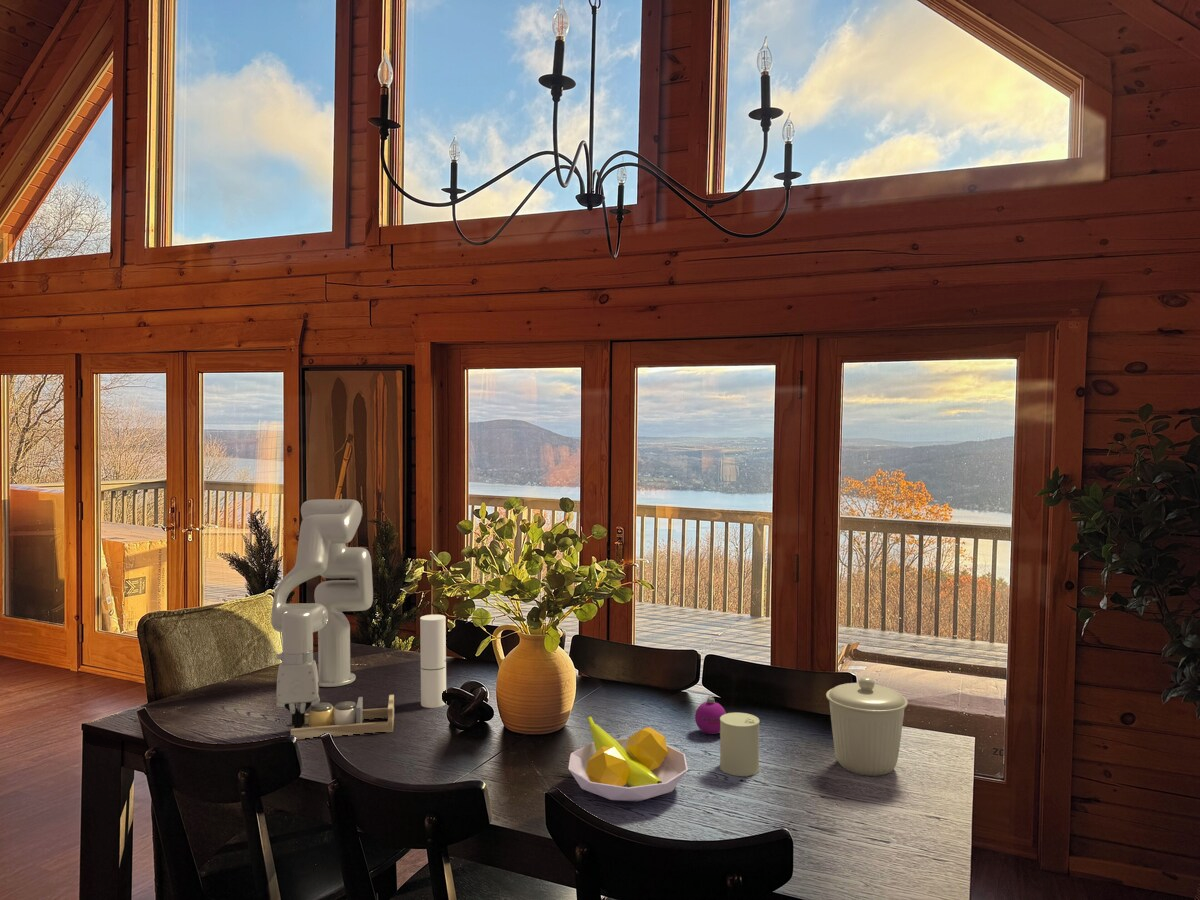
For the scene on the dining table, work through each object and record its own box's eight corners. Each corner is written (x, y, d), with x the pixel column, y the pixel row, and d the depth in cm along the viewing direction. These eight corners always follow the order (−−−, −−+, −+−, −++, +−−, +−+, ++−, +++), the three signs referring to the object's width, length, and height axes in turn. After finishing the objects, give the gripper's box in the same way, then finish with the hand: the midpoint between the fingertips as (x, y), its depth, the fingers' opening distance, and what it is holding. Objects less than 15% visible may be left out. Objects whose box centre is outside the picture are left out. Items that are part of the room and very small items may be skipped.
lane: (297, 723, 220) (297, 701, 220) (394, 716, 226) (393, 694, 225) (290, 740, 208) (290, 716, 208) (392, 731, 214) (392, 709, 214)
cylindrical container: (449, 699, 239) (448, 614, 238) (442, 708, 232) (441, 620, 231) (425, 699, 240) (424, 614, 239) (417, 707, 233) (416, 620, 232)
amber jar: (310, 724, 218) (311, 701, 218) (334, 724, 219) (335, 701, 219) (306, 733, 212) (307, 710, 212) (330, 733, 213) (331, 709, 213)
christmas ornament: (701, 740, 208) (701, 701, 207) (690, 728, 216) (690, 691, 215) (731, 737, 210) (731, 699, 209) (719, 726, 218) (719, 689, 217)
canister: (817, 751, 201) (818, 666, 200) (892, 752, 200) (893, 666, 199) (836, 783, 183) (837, 689, 182) (918, 784, 182) (919, 690, 181)
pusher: (358, 718, 222) (358, 697, 222) (362, 718, 222) (362, 696, 222) (356, 730, 213) (356, 707, 213) (360, 730, 214) (360, 707, 214)
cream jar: (334, 724, 219) (334, 701, 219) (357, 722, 221) (357, 700, 221) (332, 732, 213) (332, 709, 213) (356, 730, 215) (356, 707, 215)
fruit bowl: (708, 804, 172) (708, 751, 172) (584, 822, 165) (584, 767, 164) (661, 754, 199) (661, 708, 199) (552, 767, 192) (552, 719, 191)
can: (750, 779, 185) (750, 727, 184) (713, 770, 190) (713, 719, 189) (765, 765, 192) (765, 714, 192) (728, 757, 197) (729, 707, 197)
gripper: (264, 663, 209) (265, 734, 209) (325, 659, 212) (326, 730, 212) (270, 655, 216) (271, 724, 216) (329, 652, 219) (330, 720, 219)
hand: (298, 727), depth 214 cm, fingers closed
